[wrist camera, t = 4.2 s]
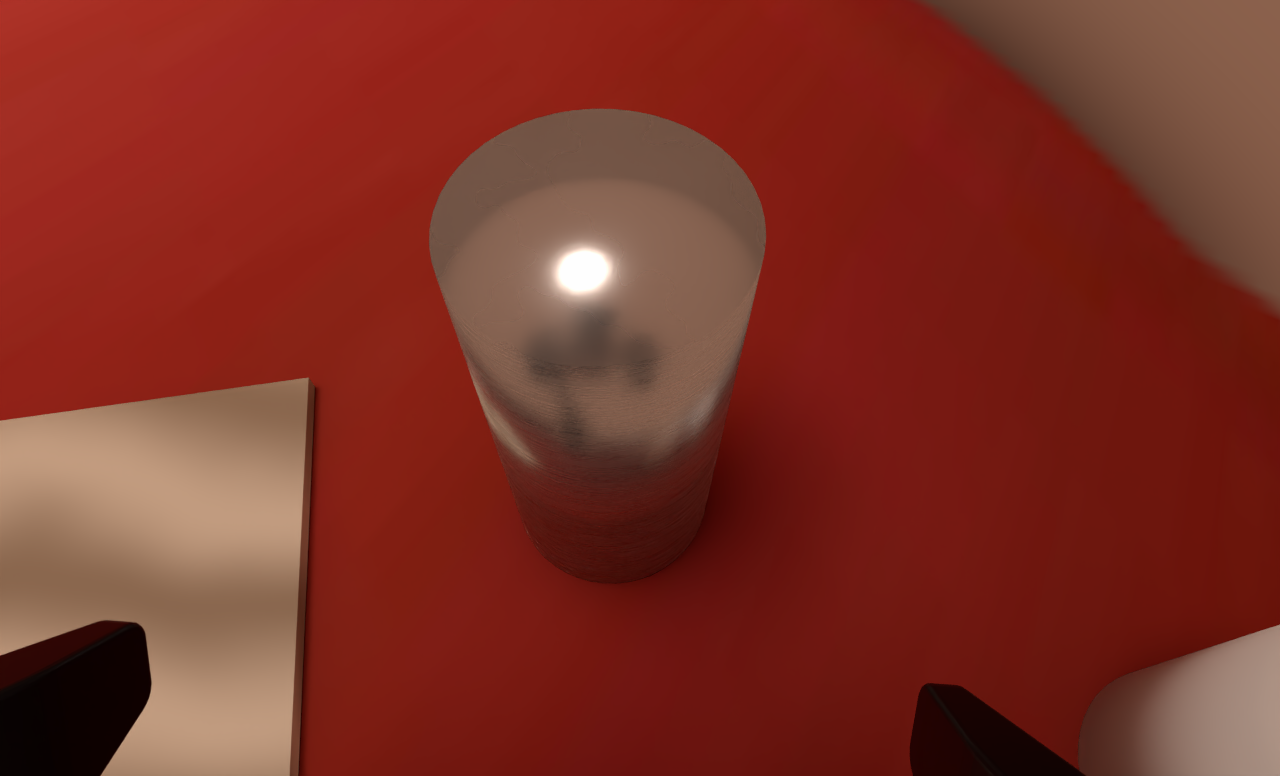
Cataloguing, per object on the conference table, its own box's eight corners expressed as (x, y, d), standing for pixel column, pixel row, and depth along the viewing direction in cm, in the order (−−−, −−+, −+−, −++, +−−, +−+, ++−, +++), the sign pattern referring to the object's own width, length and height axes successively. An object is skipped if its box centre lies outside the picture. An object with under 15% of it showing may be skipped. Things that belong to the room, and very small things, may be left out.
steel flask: (725, 565, 23) (806, 337, 13) (528, 599, 23) (437, 391, 12) (685, 395, 26) (723, 93, 16) (510, 422, 26) (423, 127, 15)
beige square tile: (296, 811, 20) (287, 811, 20) (-248, 915, 19) (-274, 918, 18) (314, 386, 26) (308, 377, 26) (-91, 444, 25) (-106, 435, 25)
